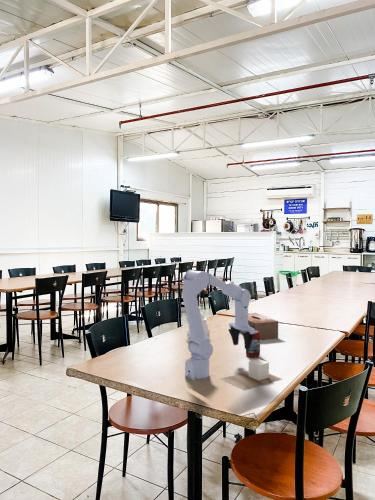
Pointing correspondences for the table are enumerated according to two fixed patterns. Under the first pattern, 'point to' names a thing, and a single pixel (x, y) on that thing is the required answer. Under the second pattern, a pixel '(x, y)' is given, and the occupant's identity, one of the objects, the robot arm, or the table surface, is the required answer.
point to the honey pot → (205, 326)
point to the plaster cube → (258, 369)
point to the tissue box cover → (263, 326)
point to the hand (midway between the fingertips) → (241, 346)
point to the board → (248, 380)
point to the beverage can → (254, 346)
